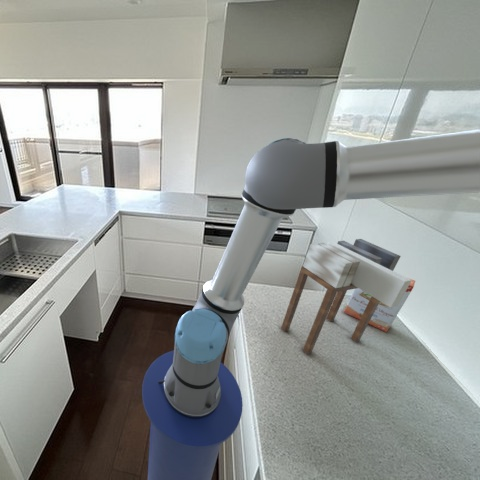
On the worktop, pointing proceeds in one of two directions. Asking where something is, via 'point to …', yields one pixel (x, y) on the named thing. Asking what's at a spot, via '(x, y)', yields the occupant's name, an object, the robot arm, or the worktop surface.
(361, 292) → the cracker box
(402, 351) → the worktop surface
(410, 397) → the worktop surface
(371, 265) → the white book
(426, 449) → the worktop surface
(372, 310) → the wooden side table
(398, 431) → the worktop surface
